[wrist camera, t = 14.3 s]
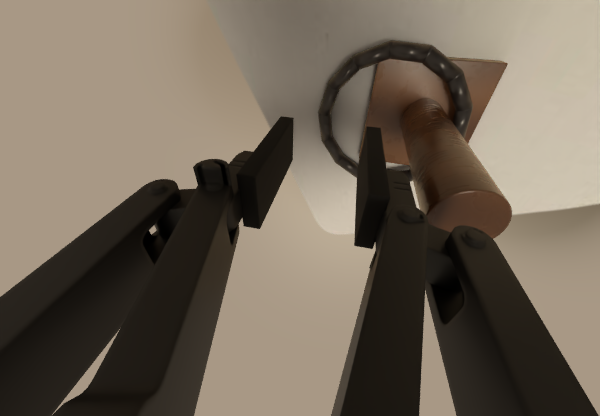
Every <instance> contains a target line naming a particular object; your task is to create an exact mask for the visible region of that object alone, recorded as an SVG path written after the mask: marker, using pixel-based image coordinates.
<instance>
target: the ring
mask: <svg viewBox="0 0 600 416" xmlns="http://www.w3.org/2000/svg"><path fill="white" fill-rule="evenodd" d="M388 59H395V60H403V61H410V62H417V63H423V64H424V65H425V66H426V67H428V68H429V69H430V70H431V71H433V72H434V73H435V74H436V75H438V76H439V77H440V78H441V79H443V80H444V81H445V82H446V83H447V86H448V89H449V92H450V95H451V98H452V101H453V104H454V107H455V113H454V117H453V124H454V125H455V127H456V128H457V130H458V131H459V132H460V134H461V135H462V137H463V138H465V135H466V131H467V127H468V124H469V120H470V116H471V113H472V109H473V103H472V100H471V96H470V93H469V89H468V86H467V83H466V79H465V76H464V72H463V70H462V69H461V68H460V67H458V66H457V65H456V64H455V63H454V62H452V61H451V60H450V59H449V58H447V57H446V56H445V55H444V54H442V53H441V52H440V51H439V50H437V49H436V48H435V47H434V46H432V45H426V44H418V43H409V42H401V41H388V42H386V43H383V44H381V45H378V46H375V47H373V48H370V49H368V50H365V51H363V52H360V53H357V54H355V55H353V56H352V57H351V58H350V59H349V60H348V61H347V62H346V64H345V65H344V66H343V67H342V68H341V69H340V70H339V71H338V72H337V73H336V74H335V75H334V76H333V77H332V78H331V80H330V81H329V82H328V84H327V87H326V90H325V93H324V96H323V100H322V103H321V106H320V109H319V112H318V114H319V122H320V130H321V139H322V142H323V143H324V145H325V147H326V148H327V150H328V151H329V153H330V155H331V156H332V158H333V160H334V161H335V163H337V164H338V165H339V166H341V167H342V168H344V169H345V170H346V171H348V172H349V173H351V174H352V175H354V176H355V177H356V178H357V169H358V165H357V164H356V163H354V162H353V161H351V160H350V159H349V158H347V157H346V156H344V155H343V153H342V151H341V150H340V148H339V146H338V145H337V143H336V141H335V140H334V138H333V135H332V125H331V111H332V108H333V105H334V103H335V100H336V97H337V95H338V92H339V90H340V89H341V88H342V87H343V86H344V85H345V84H346V83H347V82H348V81H349V80H350V79H351V78H352V77H353V76H354V75H355V74H356V73H357V72H358V71H359V70H360V69H362V68H365V67H368V66H371V65H374V64H377V63H379V62H382V61H385V60H388ZM403 172H404V173H405V175H406V176H407V177H408V178H409V181H413V177H412V173H411V169H410V170H405V171H403Z"/></svg>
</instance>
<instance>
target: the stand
mask: <svg viewBox="0 0 600 416" xmlns="http://www.w3.org/2000/svg"><path fill="white" fill-rule="evenodd" d="M447 58H449V59H450V60H451V61H452V62H454V63H455V64H456V65H457V66H458V67H460V68H461V69H462V70H463V72H464V76H465V79H466V83H467V86H468V89H469V93H470V96H471V100H472V103H473V109H472V113H471V116H470V120H469V124H468V127H467V131H466V135H465V138H463V137H462V135H461V134H460V132H459V131H458V130H457V128H456V127H455V125H454V124H453V117H454V113H455V107H454V104H453V101H452V98H451V95H450V92H449V89H448V86H447V83H446V82H445V81H444V80H443V79H441V78H440V77H439V76H438V75H436V74H435V73H434V72H433V71H431V70H430V69H429V68H428V67H426V66H425V65H424V64H423V63H417V62H410V61H403V60H395V59H388V60H385V61H382V62H379V63H378V65H377V70H376V74H375V79H374V84H373V89H372V94H371V99H370V104H369V109H368V114H367V118H366V123H365V128H364V133H363V138H362V143H361V148H360V153H359V158H360V155H361V150H362V146H363V141H364V137H365V132H366V128H367V126H369V127H377V128H381V134H382V141H383V148H384V155H385V162H389V163H397V164H404V165H410V169H411V173H412V177H413V182H414V186H415V190H416V195H417V199H418V203H419V207H420V210H421V211H422V212H424V214H425V215H426V216H427V218H428V223H429V224H431V225H433V226H435V227H437V228H440V229H443V230H446V231H448V232H452V230H453V229H454V227H456V226H459V225H467V226H471V227H475V228H477V229H480V230H482V231H484V232H485V233H486V234H488V235H489V236H490V237H491V238H492V239H493V238H495V237H497V236H498V235H500V234H501V233H502V232H503V231H504V230H505V229H506V228H507V226H508V225H509V223H510V221H511V217H512V210H511V206H510V204H509V203H508V201H507V200H506V198H505V197H504V195H503V194H502V192H501V191H500V190H499V188H498V187H497V185H496V184H495V182H494V181H493V180H492V178H491V177H490V175H489V174H488V172H487V171H486V170H485V168H484V167H483V165H482V164H481V162H480V161H479V160H478V158H477V157H476V155H475V154H474V152H473V151H472V150H471V148H470V147H469V145H468V142H469V140H470V138H471V136H472V134H473V132H474V130H475V128H476V126H477V124H478V122H479V120H480V118H481V116H482V114H483V112H484V110H485V108H486V106H487V104H488V102H489V100H490V98H491V96H492V94H493V92H494V90H495V88H496V86H497V84H498V82H499V80H500V78H501V76H502V74H503V72H504V70H505V68H506V66H507V63H505V62H503V61H495V60H480V59H466V58H451V57H447Z"/></svg>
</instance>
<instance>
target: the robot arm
mask: <svg viewBox="0 0 600 416" xmlns="http://www.w3.org/2000/svg"><path fill="white" fill-rule="evenodd" d="M293 119H294V118H290V117H280V118H279V120H278V121H277V122H276V123H275V125H274V126H273V127H272V129H271V130H270V131H269V133H268V134H267V135H266V137H265V138H264V139H263V140H262V142H261V143H260V144H259V145H258V147H257V148H256V149H255V151H254V152H250V151H243V152H241V153H239V154H238V155H236V157H235V158H234V159H233V160H232V161H231V162H230V164H228V163H227V162H226V161H223V160H219V159H208V160H204V161H201V162H199V163H197V164H196V165H195V166H194V167H193V168H194V172H195V175H196V179H197V183H198V186H197V188H196V189H182V190H179V189H178V186H177V183H176V182H175V181H172V180H168V179H160V180H155V181H153V182H150V183H148V184H146V185H145V186H143V187H142V188H141V189H139V190H138V191H137V192H136V193H134V194H133V195H132V196H130V197H129V198H128V199H126V200H125V201H124V202H122V203H121V204H120V205H119V206H117V207H116V208H115V209H114V210H112V211H111V212H110V213H108V214H107V215H106V216H104V217H103V218H102V219H101V220H99V221H98V222H97V223H95V224H94V225H93V226H91V227H90V228H89V229H88V230H86V231H85V232H84V233H82V234H81V235H80V236H79V237H77V238H76V239H75V240H74V241H72V242H71V243H70V244H68V245H67V246H66V247H65V248H63V249H62V250H60V251H59V252H58V253H57V254H55V255H54V256H53V257H51V258H50V259H49V260H48V261H46V262H45V263H44V264H42V265H41V266H40V267H39V268H37V269H36V270H35V271H33V272H32V273H31V274H30V275H28V276H27V277H26V278H25V279H23V280H22V281H20V282H19V283H18V284H17V285H15V286H14V287H13V288H11V289H10V290H9V291H8V292H6V293H5V294H4V295H3V296H1V297H0V416H51V415H52V414H53V413H54V411H55V410H56V409H57V408H58V406H59V405H60V404H61V402H62V401H63V400H64V398H65V397H66V396H67V395H68V394H69V392H70V391H71V390H72V389H73V387H74V386H75V385H76V384H77V382H78V381H79V380H80V378H81V377H82V376H83V375H84V373H85V372H86V371H87V370H88V368H89V367H90V366H91V365H92V363H93V362H94V361H95V359H96V358H97V357H98V356H99V354H100V353H101V352H102V351H103V349H104V348H105V347H106V346H107V344H108V343H109V342H110V340H111V339H112V338H113V337H114V335H115V334H116V333H117V332H118V330H119V329H120V330H119V332H118V334H117V336H116V338H115V339H114V341H113V344H112V345H111V347H110V349H109V351H108V353H107V354H106V356H105V358H104V360H103V362H102V364H101V365H100V367H99V369H98V371H97V373H96V375H95V377H94V378H93V380H92V382H91V383H90V385H89V386H88V388H87V389H86V390H85V391H84V392H83V393H82V394H80V395H79V396H77V397H75V398H73V399H71V400H70V401H68V402H66V403H64V404H63V405H62V406H61V407H60V408H59V409H58V410H57V411H56V412H55V413H54V414H53V415H52V416H194V413H195V409H196V404H197V401H198V397H199V392H200V389H201V385H202V381H203V376H204V372H205V368H206V364H207V360H208V356H209V352H210V348H211V344H212V340H213V336H214V332H215V328H216V324H217V320H218V316H219V312H220V308H221V304H222V299H223V296H224V292H225V287H226V283H227V280H228V276H229V272H230V268H231V263H232V259H233V255H234V252H235V248H236V244H237V239H238V236H239V225H238V224H239V222H240V220H241V219H242V217H243V223H244V226H246V227H252V228H257V229H260V228H261V225H262V223H263V221H264V219H265V217H266V215H267V213H268V211H269V208H270V206H271V204H272V202H273V200H274V198H275V196H276V194H277V192H278V190H279V187H280V185H281V183H282V181H283V179H284V177H285V175H286V173H287V171H288V168H289V166H290V164H291V162H292V160H293ZM153 225H155V227H156V229H157V231H156V232H155V233H153V234H152V235H151V234H150V232H149V229H150V228H151V227H152V226H153ZM375 242H376V251H375V254H374V256H373V259H372V262H371V265H370V272H369V275H368V279H367V283H366V286H365V290H364V294H363V298H362V302H361V305H360V309H359V313H358V317H357V320H356V324H355V328H354V332H353V335H352V339H351V343H350V347H349V350H348V355H347V358H346V362H345V366H344V369H343V373H342V377H341V381H340V384H339V389H338V392H337V396H336V399H335V403H334V407H333V411H332V414H331V416H419V405H420V384H421V362H422V342H423V322H424V320H423V319H424V299H425V290H426V294H427V298H428V302H429V306H430V310H431V314H432V318H433V322H434V326H435V330H436V334H437V338H438V342H439V346H440V351H441V355H442V359H443V363H444V367H445V370H446V375H447V379H448V383H449V387H450V391H451V395H452V399H453V403H454V407H455V411H456V415H457V416H598V414H597V412H596V410H595V409H594V407H593V406H592V404H591V402H590V401H589V399H588V397H587V395H586V394H585V392H584V390H583V389H582V387H581V385H580V384H579V382H578V380H577V379H576V377H575V375H574V373H573V372H572V370H571V369H570V367H569V365H568V363H567V362H566V360H565V358H564V357H563V355H562V354H561V352H560V350H559V348H558V347H557V345H556V343H555V342H554V340H553V338H552V337H551V335H550V333H549V332H548V330H547V328H546V327H545V325H544V323H543V321H542V320H541V318H540V316H539V315H538V313H537V311H536V310H535V308H534V306H533V305H532V303H531V301H530V300H529V298H528V296H527V295H526V293H525V291H524V289H523V288H522V286H521V284H520V283H519V281H518V280H517V278H516V276H515V274H514V273H513V271H512V270H511V268H510V266H509V264H508V263H507V261H506V259H505V258H504V256H503V254H502V253H501V251H500V249H499V248H498V246H497V244H496V243H495V241H494V240H493V239H492V238H491V237H490V236H489V235H488V234H486V233H485V232H484V231H482V230H480V229H477V228H475V227H471V226H467V225H459V226H456V227H454V229H453V230H452V232H448V231H446V230H443V229H440V228H437V227H435V226H433V225H431V224H429V223H428V218H427V216H426V215H425V214H424V212H422V211H421V210H419V209H418V208H416V204H415V200H414V197H413V193H412V189H411V186H410V181H409V178H408V177H407V176H406V175H405V173H404V172H403V171H396V170H389V169H386V163H385V155H384V148H383V141H382V134H381V128H377V127H369V126H367V128H366V132H365V137H364V141H363V146H362V150H361V155H360V160H359V164H358V169H357V193H356V218H355V243H354V245H355V246H359V247H365V248H370V249H372V248H373V246H374V243H375Z"/></svg>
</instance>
